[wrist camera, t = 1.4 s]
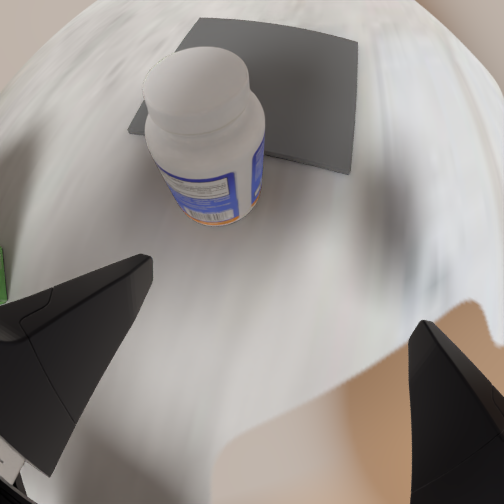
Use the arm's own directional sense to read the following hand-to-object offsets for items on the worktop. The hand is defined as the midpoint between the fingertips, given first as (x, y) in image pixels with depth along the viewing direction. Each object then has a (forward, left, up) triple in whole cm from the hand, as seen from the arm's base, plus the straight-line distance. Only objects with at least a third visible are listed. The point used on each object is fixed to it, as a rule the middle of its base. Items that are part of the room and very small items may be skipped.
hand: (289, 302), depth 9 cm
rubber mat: (+7, +17, -8) cm, 20 cm away
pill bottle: (0, +8, -8) cm, 12 cm away
